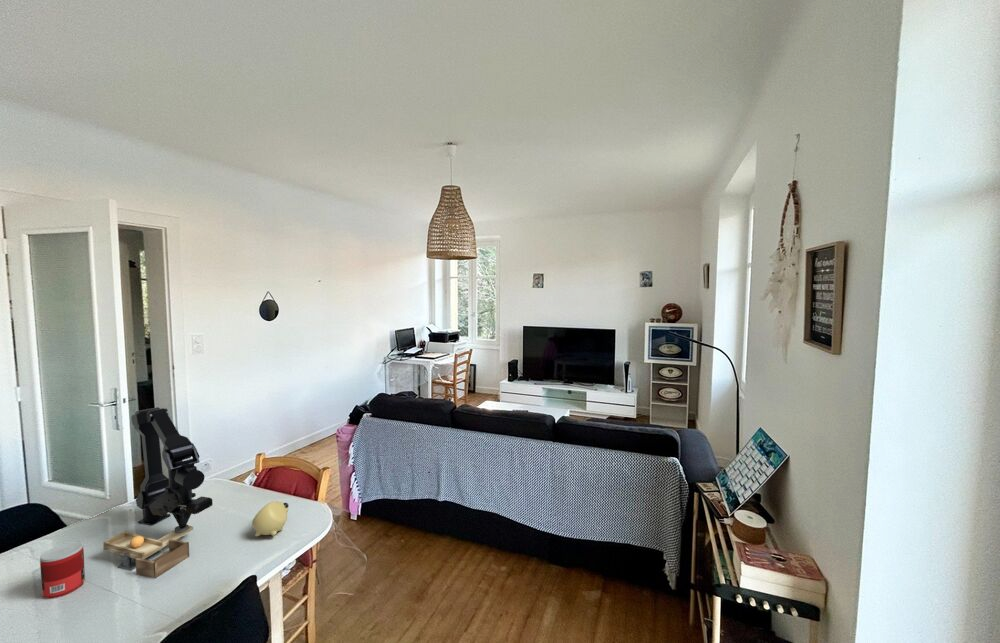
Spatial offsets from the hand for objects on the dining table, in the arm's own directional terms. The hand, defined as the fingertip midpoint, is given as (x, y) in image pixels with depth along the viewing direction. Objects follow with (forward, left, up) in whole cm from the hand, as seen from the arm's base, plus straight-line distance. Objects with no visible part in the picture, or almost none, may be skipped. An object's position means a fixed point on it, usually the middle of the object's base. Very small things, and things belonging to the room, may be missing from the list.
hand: (182, 527), depth 132 cm
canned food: (-11, -25, -5) cm, 27 cm away
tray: (+5, -11, -5) cm, 13 cm away
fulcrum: (-4, -11, -5) cm, 12 cm away
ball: (-4, -11, +1) cm, 11 cm away
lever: (-6, -5, -1) cm, 8 cm away
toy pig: (+23, +11, -5) cm, 27 cm away
